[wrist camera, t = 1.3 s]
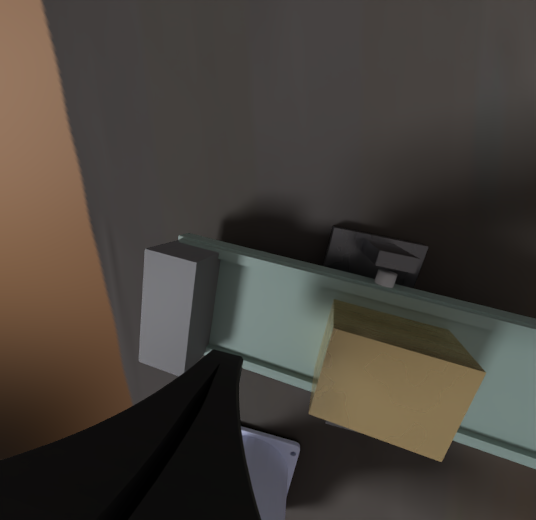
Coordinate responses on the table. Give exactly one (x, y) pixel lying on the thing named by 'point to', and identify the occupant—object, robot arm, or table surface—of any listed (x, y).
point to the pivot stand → (373, 258)
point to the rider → (393, 379)
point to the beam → (314, 324)
